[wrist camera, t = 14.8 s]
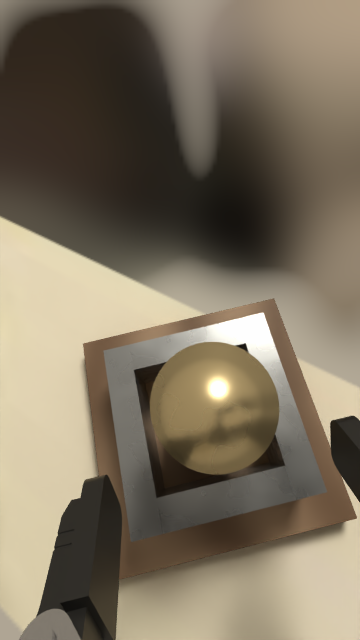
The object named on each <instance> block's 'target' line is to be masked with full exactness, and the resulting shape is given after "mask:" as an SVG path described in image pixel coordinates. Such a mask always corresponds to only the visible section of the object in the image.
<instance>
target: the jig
mask: <svg viewBox="0 0 360 640" xmlns="http://www.w3.org/2000/svg"><path fill="white" fill-rule="evenodd" d="M203 342H222V343H227V344H231V345H234V346H237V347H239V348H241V349H243V350H245V351H246V352H248V353H250V354H251V355H252V356H254V357H255V358H256V359H257V360H258V361H259V362H260V363H261V364H262V365H263V366H264V368H265V369H266V370H267V372H268V373H269V375H270V377H271V378H272V380H273V383H274V385H275V387H276V391H277V394H278V400H279V421H278V426H277V430H276V433H275V435H274V438H273V440H272V442H271V443H270V445H269V447H268V448H267V449H266V451H265V452H264V453H263V454H262V455H261V456H260V457H259V458H258V459H257V460H256V461H255V462H253V463H252V464H251V465H249V466H247V467H245V468H243V469H241V470H238V471H236V472H233V473H227V474H205V473H201V472H197V471H195V470H192V469H190V468H188V467H186V466H184V465H182V464H181V463H179V462H178V461H177V460H175V459H174V458H173V457H172V456H171V455H170V454H169V453H168V452H167V451H166V450H165V448H164V447H163V446H162V444H161V443H160V441H159V439H158V437H157V435H156V433H155V431H154V428H153V424H152V421H151V415H150V397H151V391H152V387H153V384H154V382H155V379H156V377H157V375H158V373H159V371H160V370H161V369H162V367H163V366H164V364H165V363H166V362H167V361H168V360H169V359H170V358H171V357H172V356H174V355H175V354H176V353H178V352H179V351H181V350H182V349H184V348H187V347H189V346H191V345H194V344H198V343H203ZM83 347H84V355H85V364H86V372H87V380H88V389H89V397H90V405H91V413H92V422H93V430H94V438H95V447H96V455H97V463H98V472H99V476H103V475H108V476H109V478H110V481H111V483H112V486H113V488H114V491H115V493H116V495H117V498H118V500H119V503H120V506H121V511H122V536H121V554H120V571H119V579H123V578H127V577H131V576H135V575H139V574H143V573H147V572H150V571H154V570H158V569H162V568H166V567H170V566H174V565H178V564H182V563H185V562H189V561H193V560H197V559H201V558H205V557H209V556H213V555H216V554H220V553H224V552H228V551H232V550H236V549H240V548H244V547H248V546H251V545H255V544H259V543H263V542H267V541H271V540H275V539H279V538H283V537H286V536H290V535H294V534H298V533H302V532H306V531H310V530H314V529H317V528H321V527H325V526H329V525H333V524H337V523H341V522H345V521H349V520H352V519H356V518H357V516H356V514H355V511H354V509H353V506H352V503H351V501H350V498H349V495H348V493H347V490H346V487H345V485H344V482H343V480H342V477H341V474H340V473H339V471H338V470H337V468H336V466H335V464H334V462H333V459H332V455H331V448H330V445H329V443H328V440H327V437H326V435H325V432H324V429H323V427H322V424H321V421H320V419H319V416H318V413H317V411H316V408H315V406H314V403H313V400H312V398H311V395H310V392H309V390H308V387H307V384H306V382H305V379H304V376H303V374H302V371H301V369H300V366H299V363H298V361H297V358H296V355H295V353H294V350H293V347H292V345H291V343H290V340H289V337H288V334H287V332H286V329H285V327H284V324H283V321H282V318H281V316H280V313H279V310H278V308H277V305H276V303H275V300H274V299H270V300H265V301H262V302H257V303H253V304H249V305H244V306H241V307H236V308H232V309H227V310H223V311H219V312H215V313H210V314H206V315H202V316H198V317H194V318H189V319H185V320H181V321H177V322H172V323H168V324H164V325H160V326H156V327H151V328H147V329H143V330H139V331H134V332H130V333H126V334H122V335H118V336H113V337H109V338H105V339H101V340H96V341H92V342H88V343H84V344H83Z"/></svg>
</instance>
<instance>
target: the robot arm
mask: <svg viewBox="0 0 360 640" xmlns="http://www.w3.org/2000/svg"><path fill="white" fill-rule="evenodd" d="M330 431H331V455H332V459H333V462H334V464H335V466H336V468H337V470H338V471H339V473H340V474H341V476H342V477H343V479H344V480H345V482H346V483H347V485H348V486H349V487H350V489H351V490H352V492H353V493H354V495H355V496H356V498H357V499H358V500H359V502H360V421H359V419H358V418H356V417H355V416H349V417H345V418H341V419H336V420H332V421H331V423H330ZM121 536H122V511H121V506H120V503H119V500H118V498H117V495H116V493H115V491H114V488H113V486H112V483H111V481H110V478H109V476H108V475H103V476H98V477H94V478H90V479H86V480H85V481H84V484H83V488H82V493H81V498H79V499H74V500H71V502H70V503H69V505H68V507H67V508H66V510H65V512H64V513H63V515H62V517H61V522H60V526H59V530H58V536H57V538H56V542H55V546H54V548H55V550H54V551H53V555H52V559H51V563H50V567H49V571H48V575H47V579H46V583H45V587H44V592H43V596H42V600H41V604H40V608H39V611H38V614H37V616H36V618H35V619H34V620H33V621H32V622H31V623H30V624H29V625H28V626H27V628H26V629H25V630H24V632H23V634H22V635H21V637H20V639H19V640H116V622H117V605H118V588H119V571H120V554H121Z"/></svg>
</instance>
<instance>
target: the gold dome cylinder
mask: <svg viewBox="0 0 360 640" xmlns="http://www.w3.org/2000/svg"><path fill="white" fill-rule="evenodd" d="M150 415H151V421H152V424H153V428H154V431H155V433H156V435H157V437H158V439H159V441H160V443H161V444H162V446H163V447H164V448H165V450H166V451H167V452H168V453H169V454H170V455H171V456H172V457H173V458H174V459H175V460H177V461H178V462H179V463H181V464H182V465H184V466H186V467H188V468H190V469H192V470H195V471H197V472H201V473H205V474H227V473H233V472H236V471H238V470H241V469H243V468H245V467H247V466H249V465H251V464H252V463H253V462H255V461H256V460H257V459H258V458H259V457H260V456H261V455H262V454H263V453H264V452H265V451H266V449H267V448H268V447H269V445H270V443H271V442H272V440H273V438H274V435H275V433H276V430H277V426H278V421H279V400H278V394H277V391H276V387H275V385H274V383H273V380H272V378H271V377H270V375H269V373H268V372H267V370H266V369H265V368H264V366H263V365H262V364H261V363H260V362H259V361H258V360H257V359H256V358H255V357H254V356H252V355H251V354H250V353H248V352H246V351H245V350H243V349H241V348H239V347H237V346H234V345H231V344H227V343H222V342H203V343H198V344H194V345H191V346H189V347H187V348H184V349H182V350H181V351H179V352H178V353H176V354H175V355H174V356H172V357H171V358H170V359H169V360H168V361H167V362H166V363H165V364H164V366H163V367H162V369H161V370H160V371H159V373H158V375H157V377H156V379H155V382H154V384H153V387H152V391H151V397H150Z"/></svg>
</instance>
